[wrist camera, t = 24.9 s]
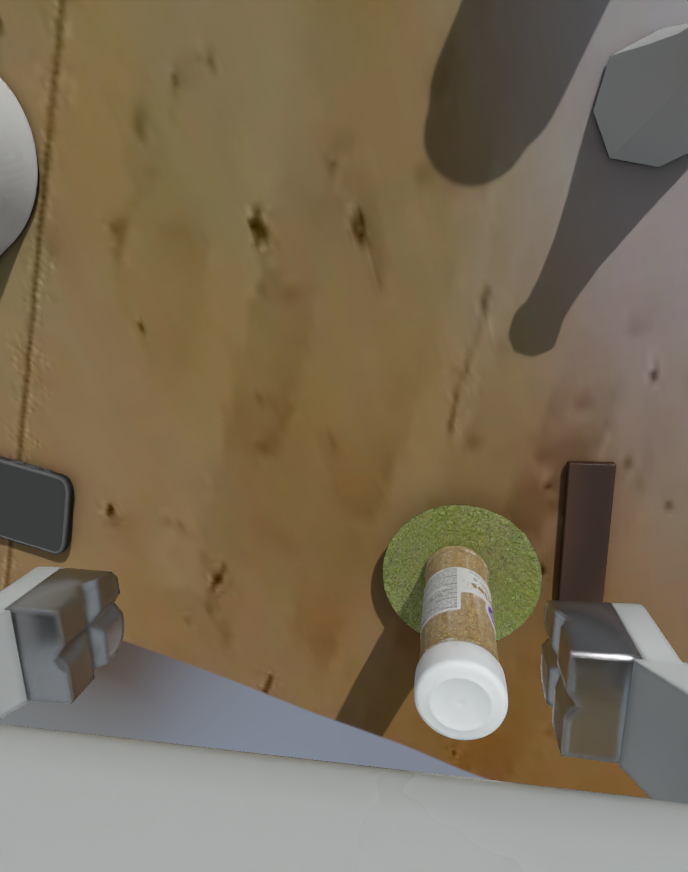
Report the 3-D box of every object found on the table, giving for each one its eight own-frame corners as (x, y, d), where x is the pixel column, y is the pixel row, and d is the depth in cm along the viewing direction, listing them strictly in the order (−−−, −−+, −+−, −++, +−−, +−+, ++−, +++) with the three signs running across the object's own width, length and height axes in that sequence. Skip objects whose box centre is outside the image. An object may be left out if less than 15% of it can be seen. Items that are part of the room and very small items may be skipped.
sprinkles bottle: (499, 585, 39) (526, 727, 26) (442, 609, 40) (441, 756, 27) (469, 532, 38) (481, 650, 25) (412, 558, 40) (396, 683, 27)
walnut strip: (553, 649, 41) (554, 654, 41) (567, 460, 38) (569, 463, 37) (595, 653, 41) (597, 658, 40) (613, 461, 37) (616, 464, 37)
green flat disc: (524, 643, 42) (528, 659, 40) (378, 619, 43) (376, 633, 42) (549, 506, 39) (554, 517, 37) (392, 486, 41) (389, 495, 39)
